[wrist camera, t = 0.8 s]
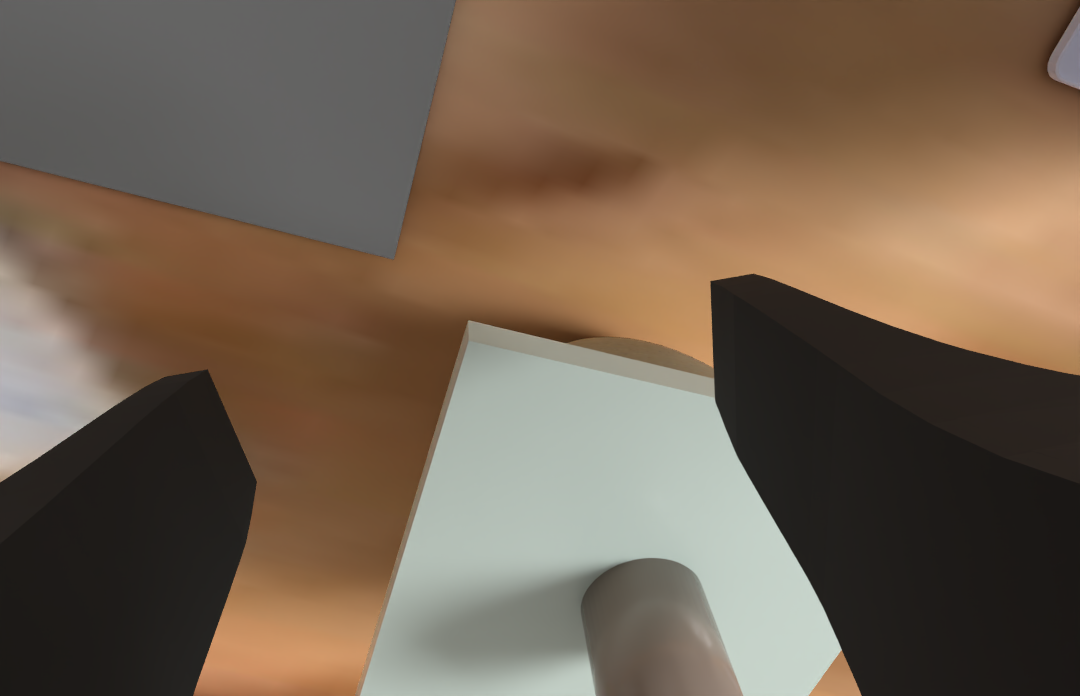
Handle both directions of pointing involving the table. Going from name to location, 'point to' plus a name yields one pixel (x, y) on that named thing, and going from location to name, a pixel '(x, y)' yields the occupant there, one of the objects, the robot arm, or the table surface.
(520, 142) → the table surface
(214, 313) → the table surface
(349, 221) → the mat
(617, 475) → the lid
